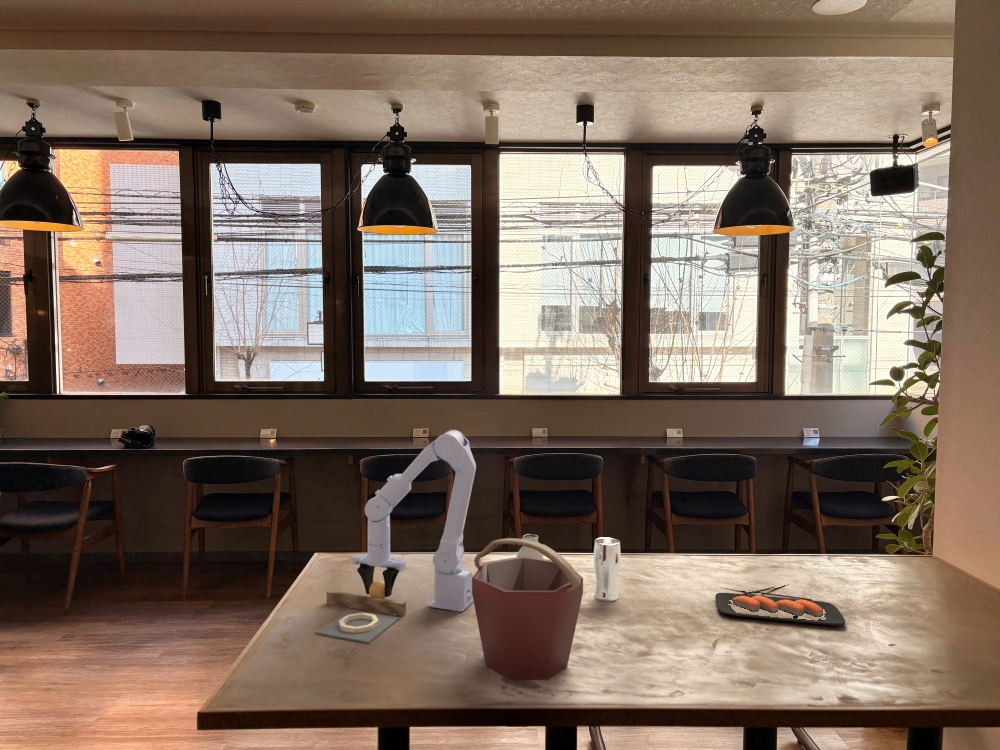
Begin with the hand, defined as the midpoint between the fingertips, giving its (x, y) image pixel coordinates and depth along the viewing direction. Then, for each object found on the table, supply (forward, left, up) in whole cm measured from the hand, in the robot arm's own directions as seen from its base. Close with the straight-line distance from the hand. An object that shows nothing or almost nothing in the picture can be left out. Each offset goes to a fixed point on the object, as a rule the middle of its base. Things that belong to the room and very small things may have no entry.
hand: (378, 594), depth 169 cm
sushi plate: (-96, -36, -2) cm, 103 cm away
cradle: (-4, +16, -1) cm, 17 cm away
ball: (0, 0, +1) cm, 1 cm away
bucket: (-46, +18, -2) cm, 49 cm away
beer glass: (-55, -23, -2) cm, 60 cm away
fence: (0, +7, -1) cm, 7 cm away
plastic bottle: (-40, -3, -2) cm, 40 cm away
